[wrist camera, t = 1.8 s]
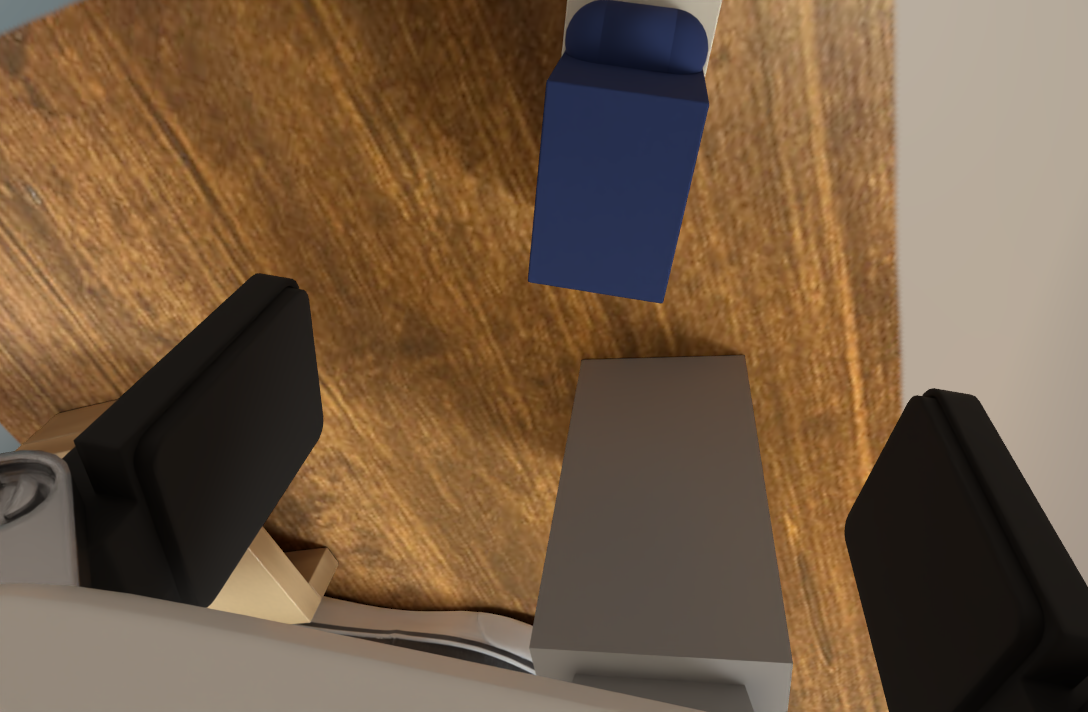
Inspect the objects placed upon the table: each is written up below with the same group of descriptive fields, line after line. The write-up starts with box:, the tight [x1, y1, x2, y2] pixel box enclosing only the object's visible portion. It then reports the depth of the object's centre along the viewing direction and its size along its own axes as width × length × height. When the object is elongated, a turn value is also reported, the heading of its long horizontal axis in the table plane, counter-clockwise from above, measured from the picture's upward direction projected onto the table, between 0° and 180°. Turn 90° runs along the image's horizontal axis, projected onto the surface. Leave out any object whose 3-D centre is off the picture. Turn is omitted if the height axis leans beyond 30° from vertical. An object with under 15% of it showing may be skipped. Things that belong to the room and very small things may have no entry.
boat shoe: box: [290, 596, 536, 675], centre depth 40 cm, size 24×9×8 cm, turn 84°
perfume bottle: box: [529, 355, 793, 712], centre depth 23 cm, size 7×7×18 cm
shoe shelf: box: [16, 400, 339, 624], centre depth 37 cm, size 14×10×4 cm
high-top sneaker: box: [528, 0, 722, 303], centre depth 21 cm, size 8×4×6 cm, turn 175°
